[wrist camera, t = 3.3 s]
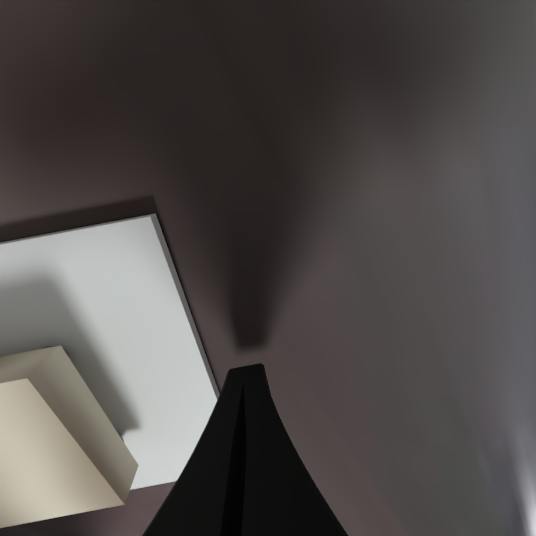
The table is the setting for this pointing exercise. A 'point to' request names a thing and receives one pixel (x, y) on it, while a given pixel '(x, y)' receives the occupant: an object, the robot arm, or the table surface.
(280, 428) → the robot arm
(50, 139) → the table surface
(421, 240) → the table surface
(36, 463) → the beige flat block
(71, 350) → the board
